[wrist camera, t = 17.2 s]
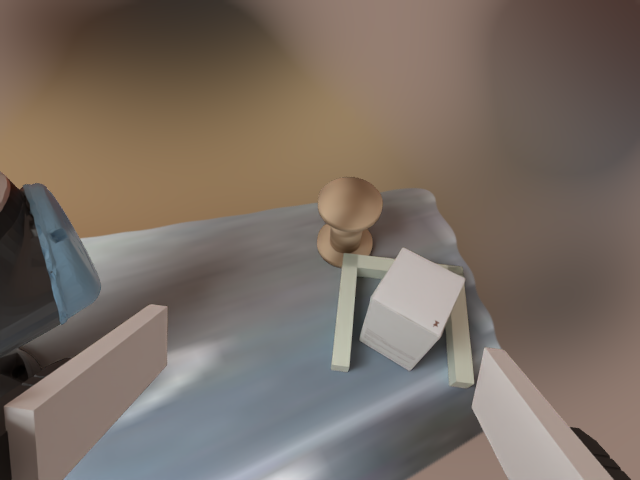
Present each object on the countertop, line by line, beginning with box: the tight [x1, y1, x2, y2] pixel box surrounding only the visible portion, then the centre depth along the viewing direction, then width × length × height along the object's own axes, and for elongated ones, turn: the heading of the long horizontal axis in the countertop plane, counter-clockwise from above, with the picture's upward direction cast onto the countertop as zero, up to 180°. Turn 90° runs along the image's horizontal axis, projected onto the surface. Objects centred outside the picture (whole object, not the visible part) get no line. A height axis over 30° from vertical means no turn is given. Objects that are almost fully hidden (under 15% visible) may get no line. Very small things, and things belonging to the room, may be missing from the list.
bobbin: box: [317, 177, 383, 268], centre depth 49 cm, size 8×8×10 cm
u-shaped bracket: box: [331, 253, 474, 388], centre depth 46 cm, size 16×15×2 cm
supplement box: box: [359, 247, 466, 371], centre depth 41 cm, size 7×7×13 cm
